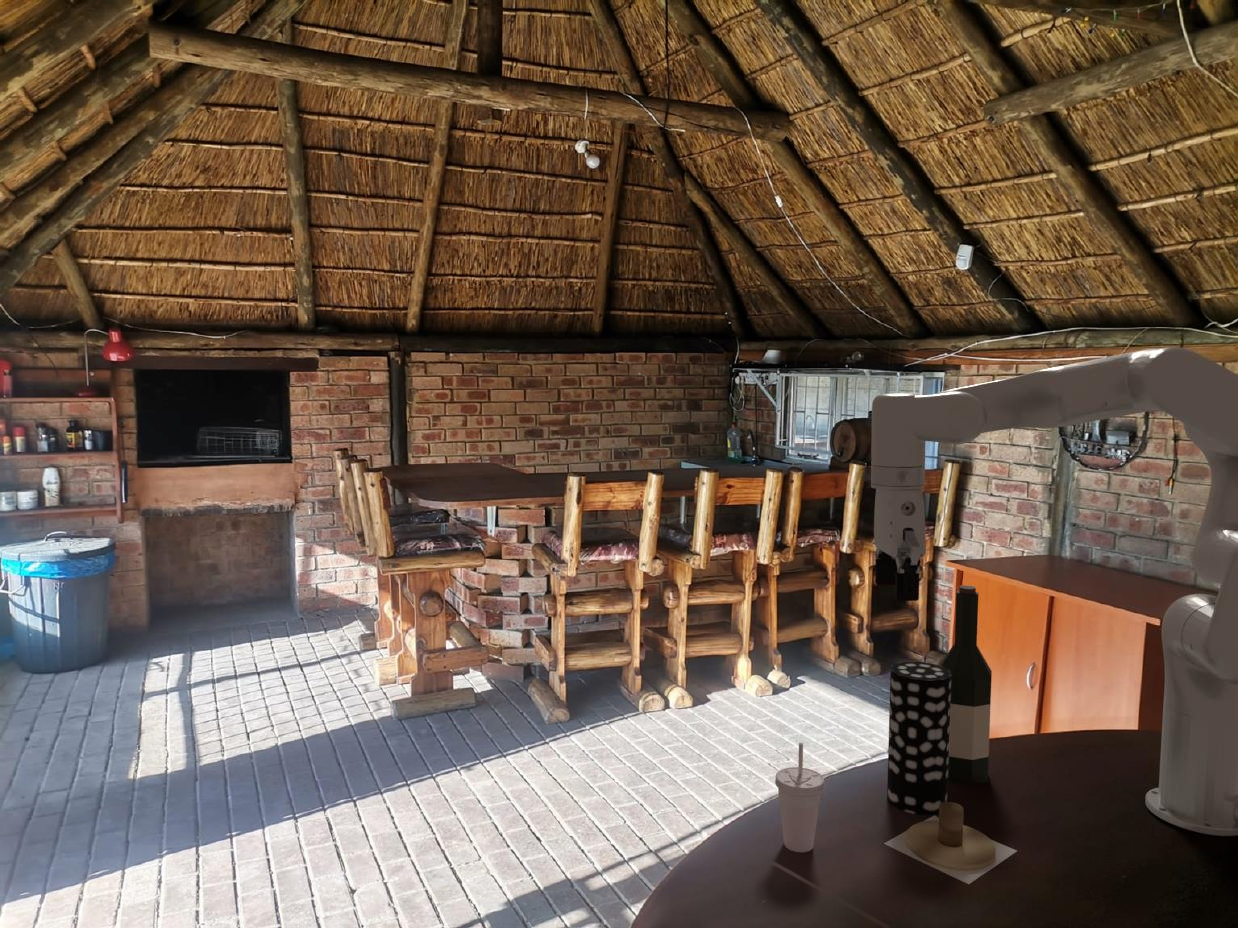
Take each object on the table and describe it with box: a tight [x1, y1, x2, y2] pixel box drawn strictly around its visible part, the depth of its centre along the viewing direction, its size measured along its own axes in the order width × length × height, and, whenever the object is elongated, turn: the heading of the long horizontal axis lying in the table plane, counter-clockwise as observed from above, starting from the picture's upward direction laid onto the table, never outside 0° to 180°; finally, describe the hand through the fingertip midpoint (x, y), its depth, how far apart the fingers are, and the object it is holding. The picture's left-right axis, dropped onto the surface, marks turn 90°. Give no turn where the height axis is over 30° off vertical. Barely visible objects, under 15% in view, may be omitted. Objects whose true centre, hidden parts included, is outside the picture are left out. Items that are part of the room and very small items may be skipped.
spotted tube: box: [886, 661, 951, 816], centre depth 126 cm, size 8×8×20 cm
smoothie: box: [774, 742, 825, 853], centre depth 114 cm, size 6×6×14 cm
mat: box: [883, 815, 1018, 885], centre depth 114 cm, size 12×12×1 cm
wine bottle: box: [939, 585, 993, 785], centre depth 135 cm, size 8×8×30 cm
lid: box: [906, 801, 996, 870], centre depth 113 cm, size 11×11×6 cm
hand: (896, 592), depth 128 cm, fingers open, 9 cm apart
